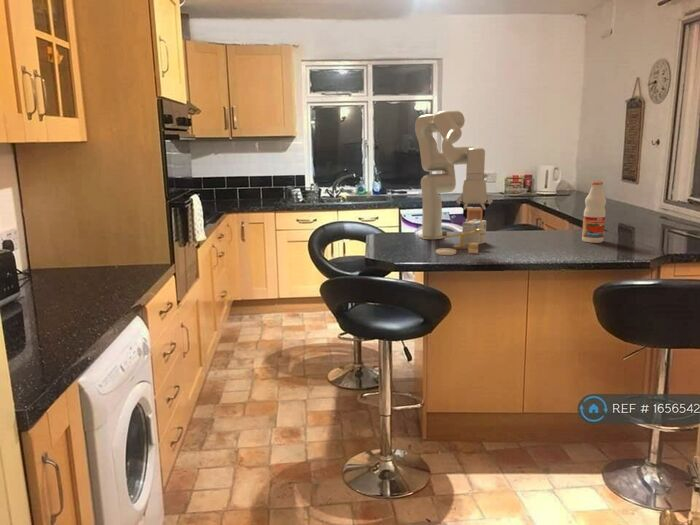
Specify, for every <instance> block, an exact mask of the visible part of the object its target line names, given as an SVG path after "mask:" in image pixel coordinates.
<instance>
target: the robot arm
mask: <svg viewBox="0 0 700 525" xmlns="http://www.w3.org/2000/svg"><path fill="white" fill-rule="evenodd" d="M465 121H466V120H465V116H464V114H463V113H462V112H461V111H459V110H442V111H441V110H440V111H438V112H437V113H435V114H422V115H420V116H419V117H417V119H416V120H415V123H414V124H415V125H414V130H415V136H416V138H417V142H418V145H419V155H420V162H421V163H420V164H421V168H422V169H423V171H424V172H431V173H429V174H426V175H423V177H422V178H421V179H420V189H421V196H422V197H421V198H422V221H421V222H422V225H421V226H422V227H421V229H422V233H420V234H419V236H418V237H419V238H420V239H421V240H422V239H424V240H441V239H445V238H444V237H440V235H442V226H443V225H442V221H443V220H442V218H443V216H442V215H443V203H442V200H441V197H440V196H439V194H443V193H444V194H445V193H453V192H454V190H455V189H456V185H457V184H456V183H457V182H456V181H457V180H456V170H455V166H456V165H466V171H465V172H466V174H465V176H466V177H465V180H463V185H462V194H461V195H460V196H459V197H458V198H457V199H456V200H455V202H456V203H457V204H458V205H459V206H460V208H462V217H463V218H464V219H465V220H466V219H467V210H466V208H467V207H469V204H470V205H473V204H476V205H477V204H480V206H481V208H482V209H483V210H482V220H484V217H485V214H486V213H485V212H486V211H485V210H486V209H487V208H488V207H489V206H490V205H491V204H492V203H493V202H494V201H493V200H492V198H491V197H489V195H487V182H486V179H485V178H488V174H486V173H485V164H486V163H485V161H486V160H485V159H486V158H485V157H486V151H485V150H486V149H484V148H482V147H475V146H454V145H453V144H455V143H456V142H458V141H459V140H460V139H461V137H462V135H463V134H462V128H463V127H464V126H465ZM431 133H440V136H441V137H442V139H443V140H442V142H441V151H439V150H438V144H437V141H436V140H437V139H436V138H435V137H434V136H433V134H431ZM432 172H441V173H432ZM461 201H462V202H463V203H462V202H461Z"/></svg>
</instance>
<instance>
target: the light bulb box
mask: <svg viewBox="0 0 700 525" xmlns="http://www.w3.org/2000/svg"><path fill="white" fill-rule="evenodd" d="M477 228H481V229H484V231H480V232H477V233H472V234H466V235H464V237H463V245H468V243H478V245H481V244H485V243H486V241H487V240H486V239H487V238H486V237H487V220H484V219H482V222H480V220H479V219H470V220H469V221H468V222H467V221H462V233H466V232H471V231H475V229H477Z"/></svg>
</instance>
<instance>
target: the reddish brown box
mask: <svg viewBox="0 0 700 525" xmlns="http://www.w3.org/2000/svg"><path fill="white" fill-rule="evenodd" d="M466 210H467V219H465V222H468V221H470V220H475V219H476V220H480V222H482V220H483V219H482V210H483V209H482V206H481V207H480V206H475V207H474V206H467V208H466Z"/></svg>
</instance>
